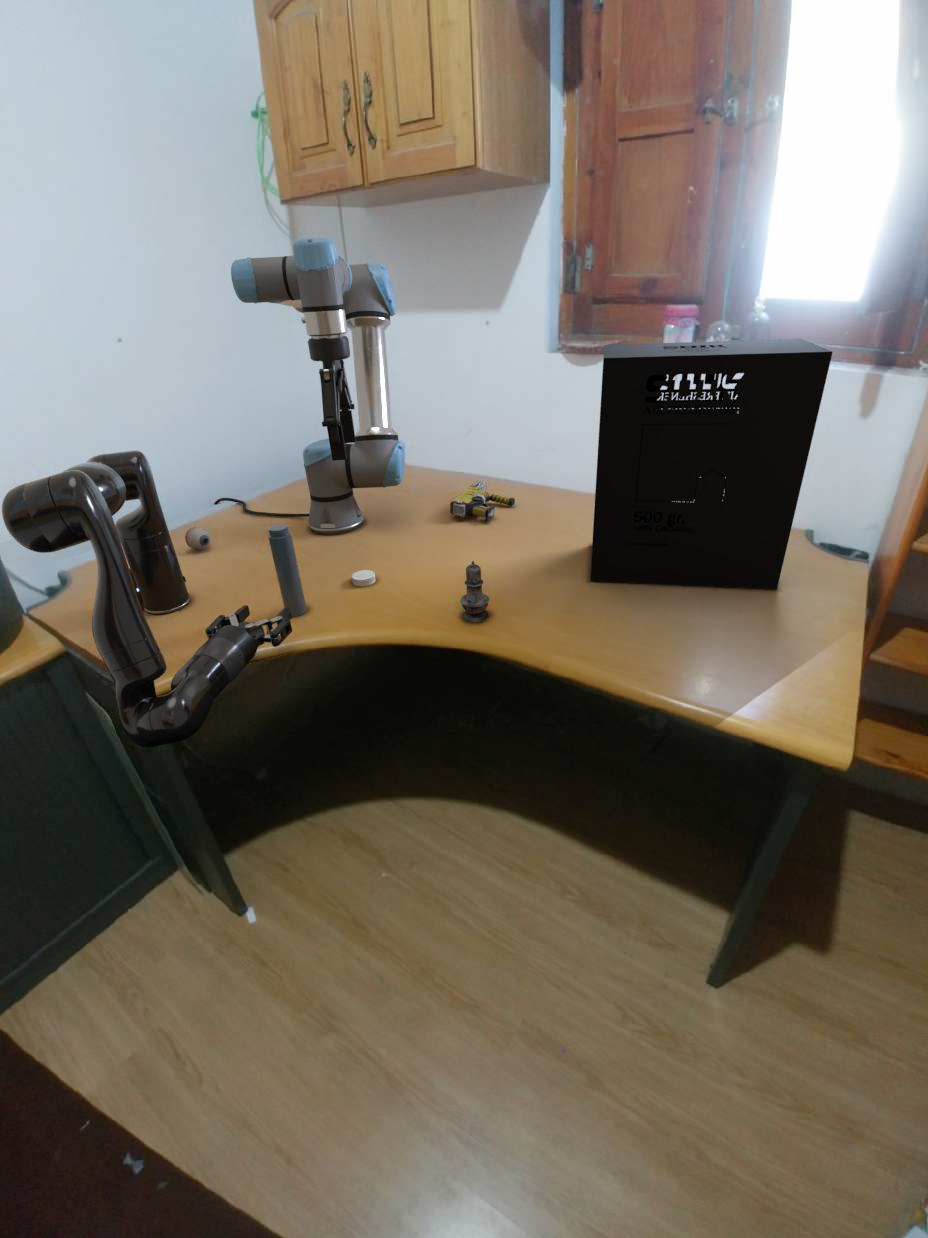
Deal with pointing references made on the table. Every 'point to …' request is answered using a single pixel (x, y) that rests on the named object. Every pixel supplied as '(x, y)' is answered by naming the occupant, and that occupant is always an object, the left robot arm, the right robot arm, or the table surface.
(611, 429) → the cardboard box
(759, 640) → the table surface
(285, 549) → the bottle
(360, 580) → the lid
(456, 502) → the toy gun
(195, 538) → the eyeball
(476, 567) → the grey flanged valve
